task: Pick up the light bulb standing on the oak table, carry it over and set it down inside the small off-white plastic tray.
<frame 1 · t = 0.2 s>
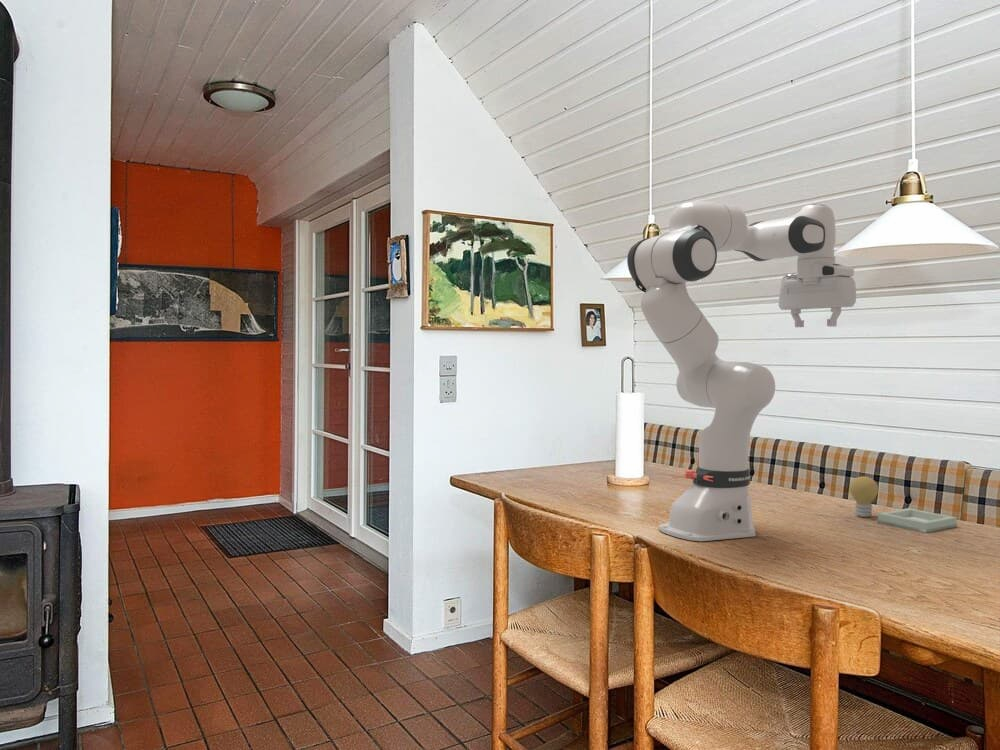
hand: (815, 326, 194), 47 cm above the table, fingers open, 8 cm apart
tray: (916, 524, 184), on the table
light bulb: (863, 517, 193), on the table
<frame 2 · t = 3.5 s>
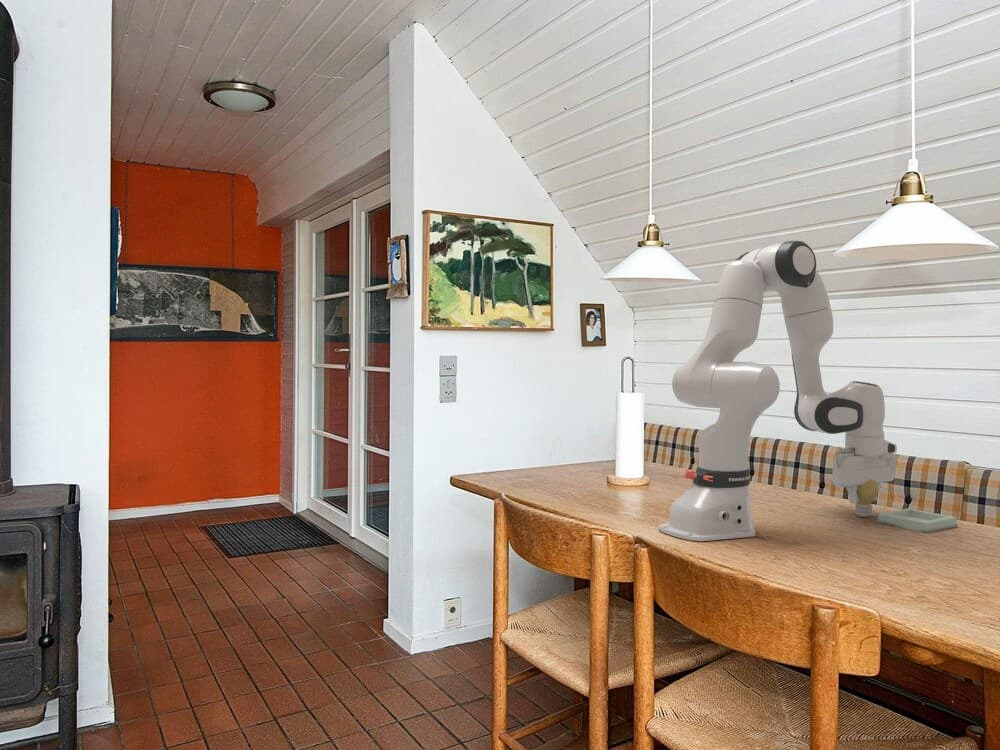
hand: (863, 501, 193), 4 cm above the table, fingers closed on light bulb, 5 cm apart
light bulb: (863, 517, 193), on the table, touching gripper
when the fingers open (6 cm above the table, at t = 8.4 s): light bulb drops 1 cm, resting on tray.
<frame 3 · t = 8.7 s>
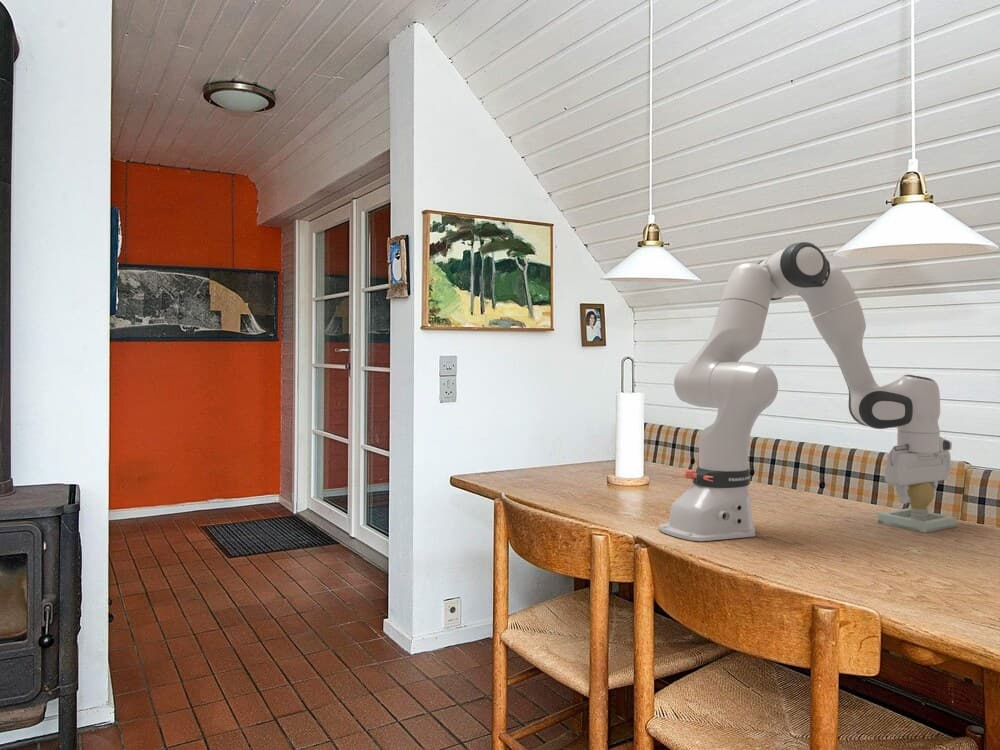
hand: (916, 501, 184), 6 cm above the table, fingers open, 8 cm apart
light bulb: (919, 521, 185), point 1 cm above the table, touching gripper, tray
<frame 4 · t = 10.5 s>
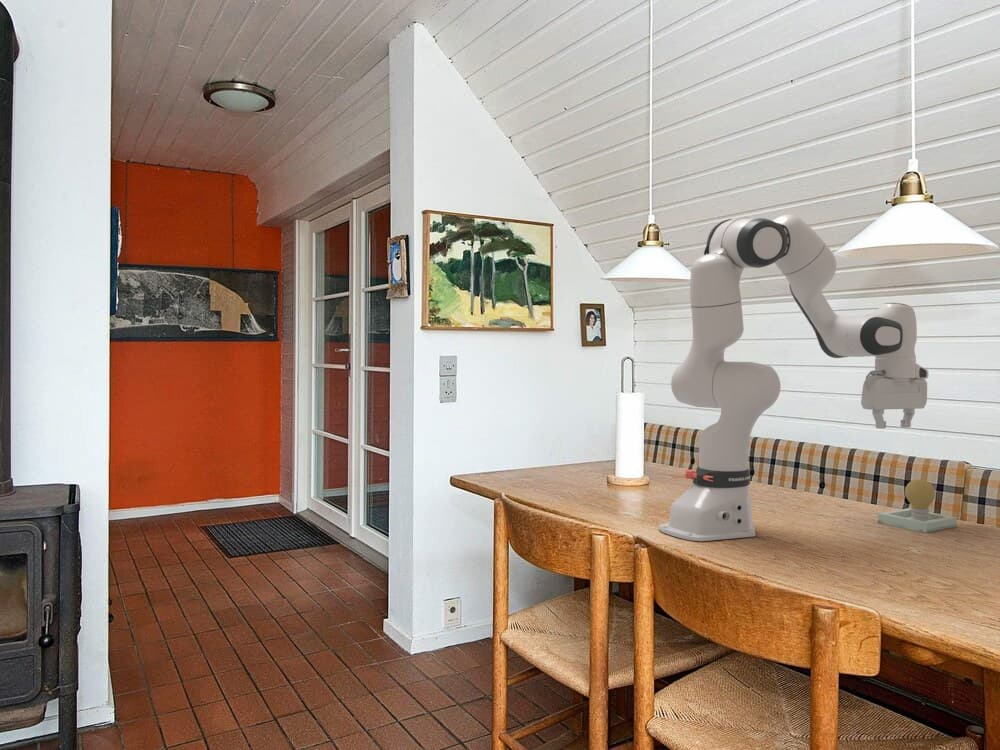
hand: (893, 427, 187), 23 cm above the table, fingers open, 8 cm apart
light bulb: (919, 521, 185), point 1 cm above the table, touching tray
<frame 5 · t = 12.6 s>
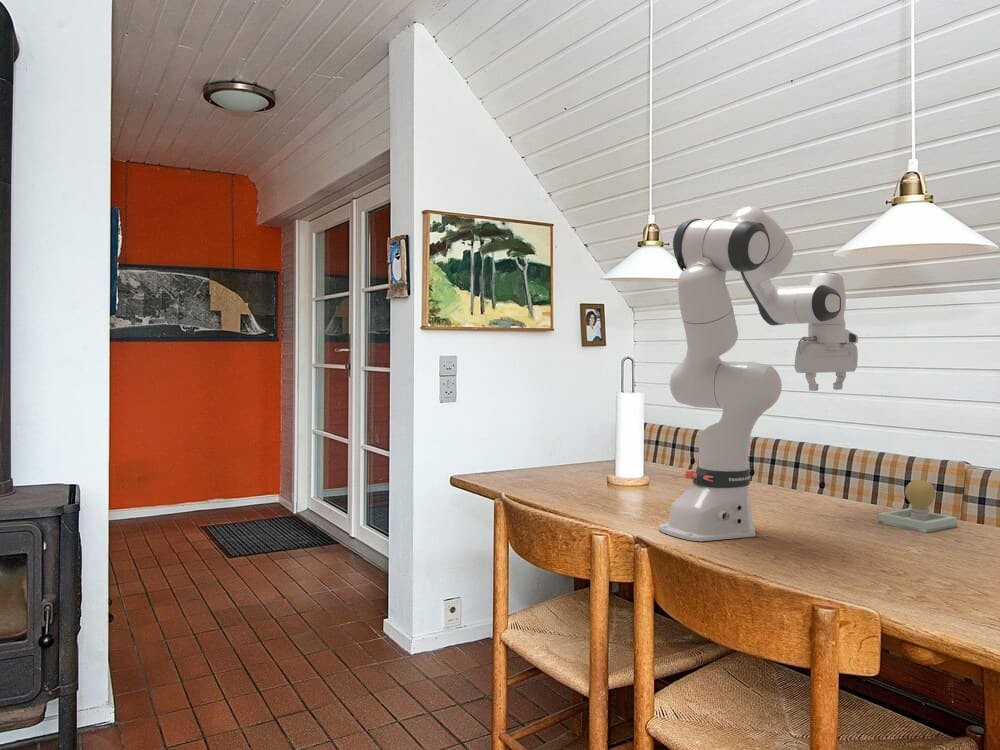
hand: (825, 390, 200), 31 cm above the table, fingers open, 8 cm apart
nothing on the table moved.
at the end: light bulb inside the target area on the tray (1.2 cm from its centre), point 0.4 cm above the tray's base; light bulb touching tray; the gripper is holding nothing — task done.
